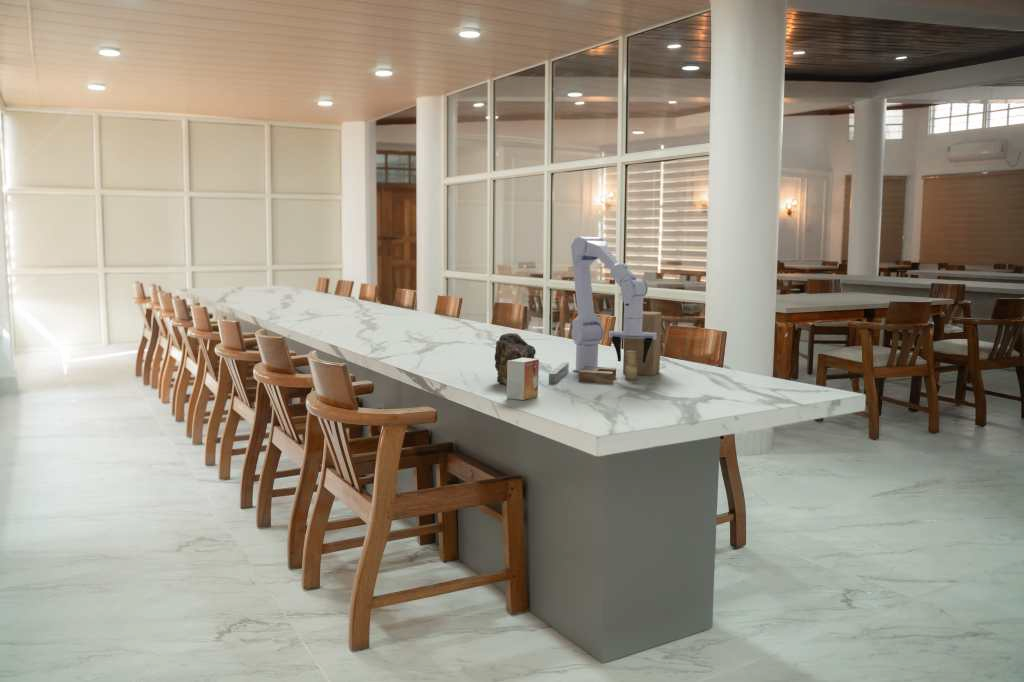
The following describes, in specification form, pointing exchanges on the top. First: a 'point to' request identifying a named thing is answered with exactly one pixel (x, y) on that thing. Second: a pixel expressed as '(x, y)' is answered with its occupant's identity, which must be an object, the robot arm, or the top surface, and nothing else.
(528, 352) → the rock
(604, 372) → the block
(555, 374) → the rail
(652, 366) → the wooden block
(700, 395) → the top surface
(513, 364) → the small box
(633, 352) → the dowel
